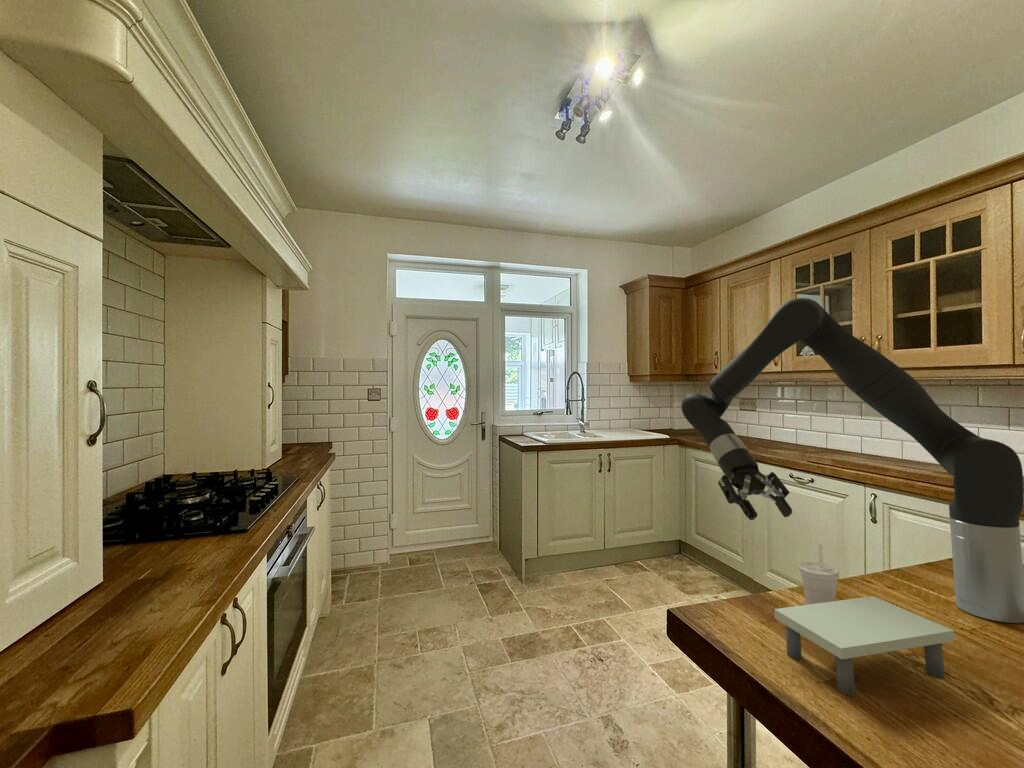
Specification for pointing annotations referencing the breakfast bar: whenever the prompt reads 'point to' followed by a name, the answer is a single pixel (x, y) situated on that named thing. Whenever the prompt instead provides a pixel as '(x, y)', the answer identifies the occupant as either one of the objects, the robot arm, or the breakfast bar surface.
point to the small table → (863, 633)
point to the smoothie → (818, 581)
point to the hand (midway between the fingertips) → (771, 516)
